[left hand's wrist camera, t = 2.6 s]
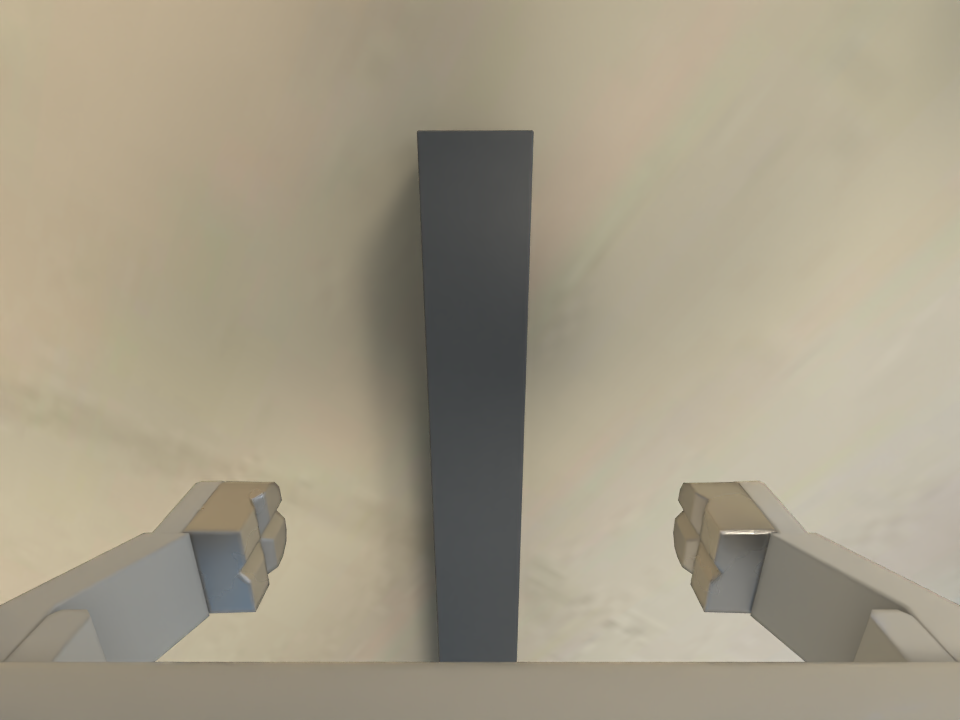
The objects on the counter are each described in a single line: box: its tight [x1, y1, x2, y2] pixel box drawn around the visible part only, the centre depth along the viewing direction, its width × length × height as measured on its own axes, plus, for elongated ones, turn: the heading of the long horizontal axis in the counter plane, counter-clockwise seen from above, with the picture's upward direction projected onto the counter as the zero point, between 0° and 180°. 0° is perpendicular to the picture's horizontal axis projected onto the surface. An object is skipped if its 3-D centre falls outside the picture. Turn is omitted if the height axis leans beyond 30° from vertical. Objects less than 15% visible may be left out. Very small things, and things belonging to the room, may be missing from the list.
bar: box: [417, 130, 534, 662], centre depth 40 cm, size 80×5×8 cm, turn 0°
